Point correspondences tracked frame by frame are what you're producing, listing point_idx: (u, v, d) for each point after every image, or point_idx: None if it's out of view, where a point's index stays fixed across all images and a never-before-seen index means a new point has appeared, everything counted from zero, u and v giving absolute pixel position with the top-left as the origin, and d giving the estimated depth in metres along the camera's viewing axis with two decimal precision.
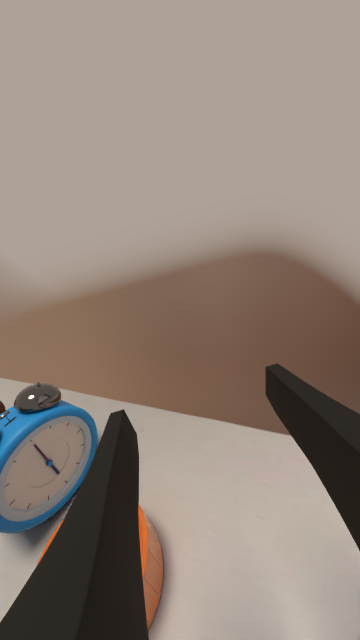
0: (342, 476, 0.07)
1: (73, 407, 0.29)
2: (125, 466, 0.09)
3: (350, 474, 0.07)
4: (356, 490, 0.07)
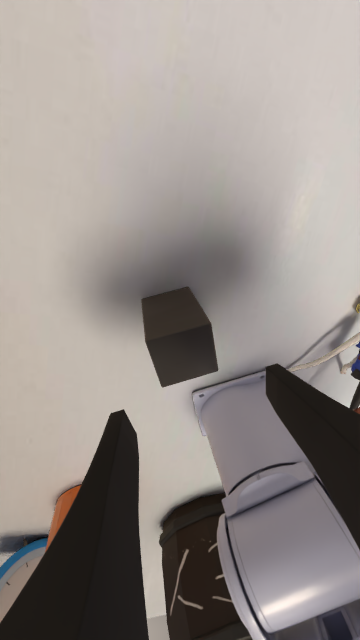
0: (342, 476, 0.07)
1: None
2: (125, 466, 0.09)
3: (350, 474, 0.07)
4: (356, 490, 0.07)
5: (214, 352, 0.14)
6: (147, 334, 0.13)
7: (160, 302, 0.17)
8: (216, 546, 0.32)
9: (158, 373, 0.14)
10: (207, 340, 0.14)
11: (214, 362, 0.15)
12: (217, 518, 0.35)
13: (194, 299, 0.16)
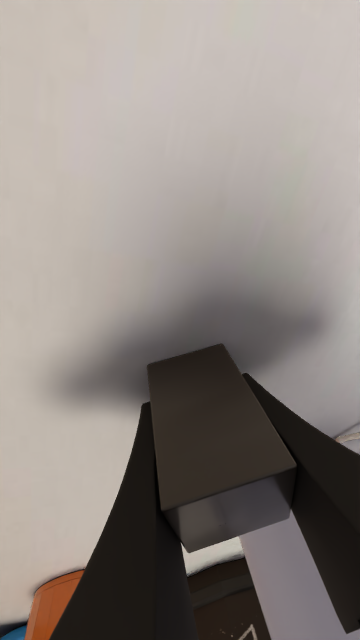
0: (297, 491, 0.07)
1: None
2: None
3: (302, 490, 0.07)
4: (308, 507, 0.07)
5: (290, 500, 0.07)
6: (163, 483, 0.07)
7: (180, 378, 0.10)
8: None
9: (183, 541, 0.07)
10: (284, 488, 0.07)
11: (287, 511, 0.08)
12: (238, 598, 0.28)
13: (241, 379, 0.09)
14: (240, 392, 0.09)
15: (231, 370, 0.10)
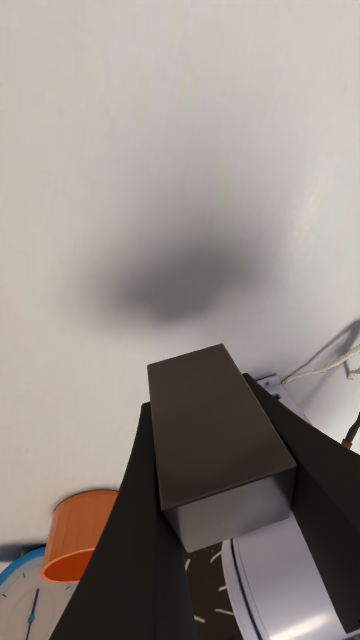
0: (297, 491, 0.07)
1: None
2: None
3: (302, 490, 0.07)
4: (308, 507, 0.07)
5: (290, 500, 0.07)
6: (163, 483, 0.07)
7: (180, 377, 0.10)
8: (218, 556, 0.31)
9: (183, 541, 0.07)
10: (284, 488, 0.07)
11: (286, 511, 0.08)
12: None
13: (241, 379, 0.09)
14: (240, 392, 0.09)
15: (231, 370, 0.10)
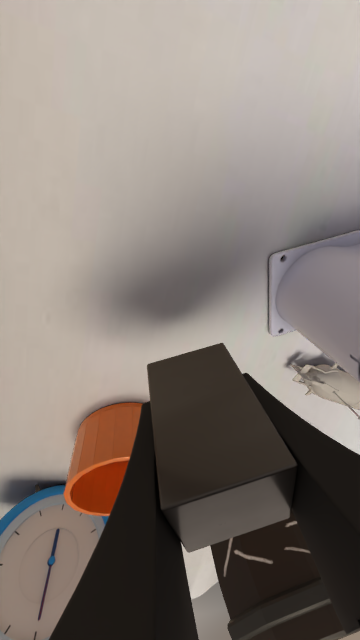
0: (297, 491, 0.07)
1: None
2: None
3: (302, 490, 0.07)
4: (308, 507, 0.07)
5: (291, 499, 0.07)
6: (163, 482, 0.06)
7: (180, 377, 0.10)
8: None
9: (183, 541, 0.07)
10: (284, 488, 0.07)
11: (287, 510, 0.08)
12: None
13: (241, 378, 0.09)
14: (240, 391, 0.09)
15: (231, 369, 0.10)
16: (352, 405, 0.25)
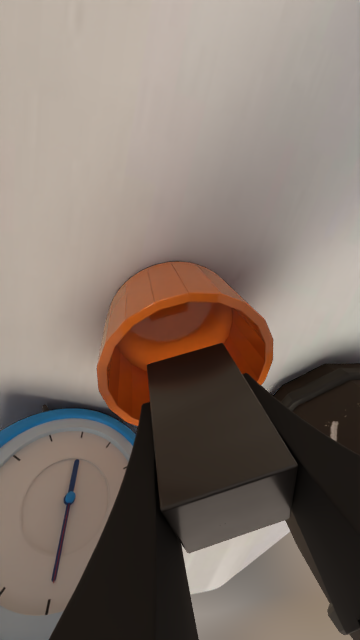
0: (297, 491, 0.07)
1: None
2: None
3: (302, 490, 0.07)
4: (308, 507, 0.07)
5: (291, 500, 0.07)
6: (163, 483, 0.06)
7: (179, 377, 0.10)
8: None
9: (182, 541, 0.07)
10: (284, 488, 0.07)
11: (287, 511, 0.08)
12: None
13: (241, 378, 0.09)
14: (240, 391, 0.09)
15: (231, 369, 0.10)
16: None
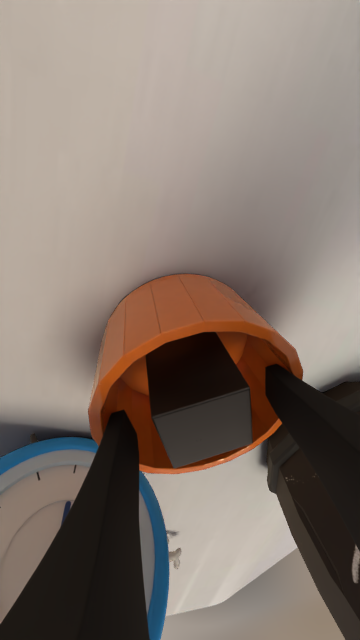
0: (341, 476, 0.07)
1: None
2: (125, 466, 0.09)
3: (349, 474, 0.07)
4: (355, 490, 0.07)
5: (250, 423, 0.10)
6: (153, 403, 0.09)
7: None
8: None
9: (169, 454, 0.10)
10: (243, 409, 0.09)
11: (249, 435, 0.10)
12: None
13: (217, 339, 0.12)
14: (215, 347, 0.11)
15: (210, 333, 0.12)
16: None
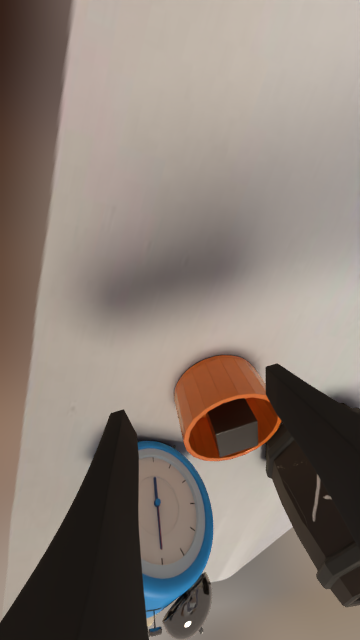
0: (342, 476, 0.07)
1: None
2: (125, 466, 0.09)
3: (350, 474, 0.07)
4: (356, 490, 0.07)
5: (257, 435, 0.21)
6: (214, 427, 0.20)
7: None
8: None
9: (219, 450, 0.21)
10: (254, 430, 0.20)
11: (256, 441, 0.21)
12: None
13: None
14: None
15: None
16: None
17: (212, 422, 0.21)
